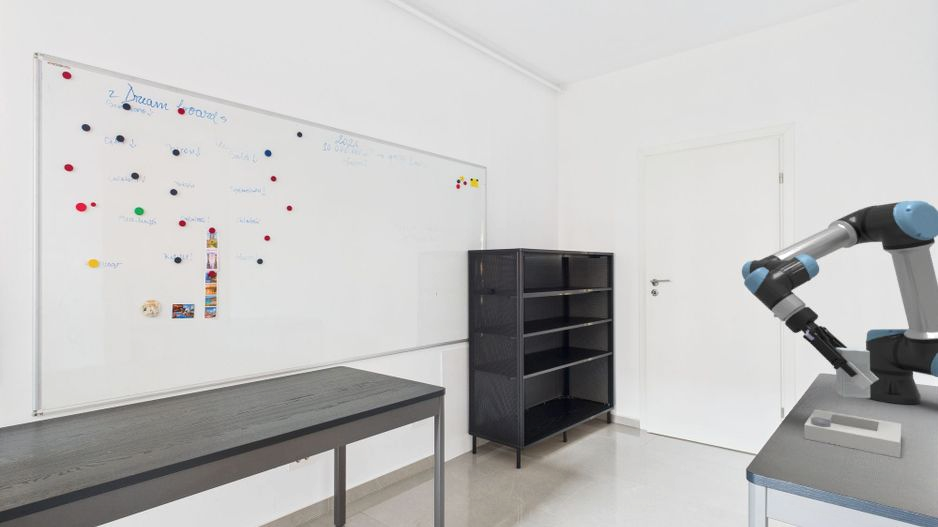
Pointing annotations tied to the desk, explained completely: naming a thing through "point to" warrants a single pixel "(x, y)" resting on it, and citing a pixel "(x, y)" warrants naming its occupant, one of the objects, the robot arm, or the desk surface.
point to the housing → (854, 432)
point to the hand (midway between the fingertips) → (870, 384)
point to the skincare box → (862, 363)
